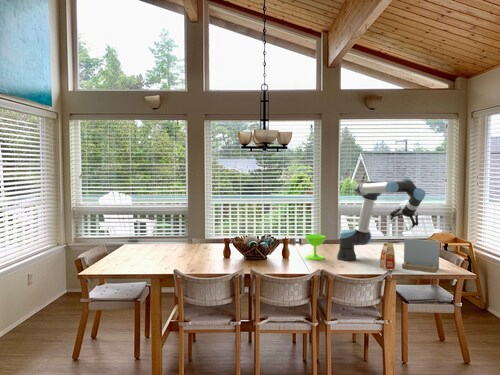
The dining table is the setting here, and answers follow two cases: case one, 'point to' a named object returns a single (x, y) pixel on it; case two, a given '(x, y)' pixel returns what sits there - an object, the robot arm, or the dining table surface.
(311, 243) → the wineglass
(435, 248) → the wall board
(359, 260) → the dining table surface
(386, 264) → the milk carton
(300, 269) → the dining table surface
